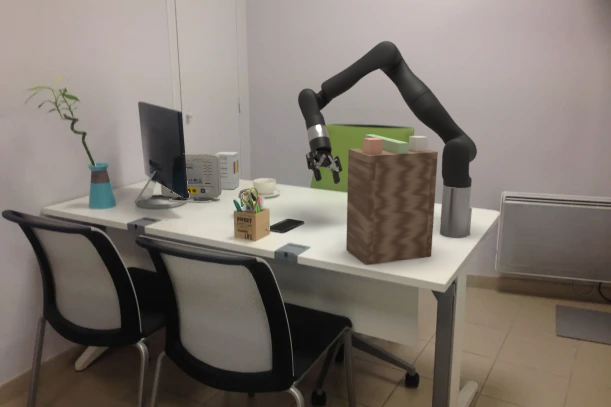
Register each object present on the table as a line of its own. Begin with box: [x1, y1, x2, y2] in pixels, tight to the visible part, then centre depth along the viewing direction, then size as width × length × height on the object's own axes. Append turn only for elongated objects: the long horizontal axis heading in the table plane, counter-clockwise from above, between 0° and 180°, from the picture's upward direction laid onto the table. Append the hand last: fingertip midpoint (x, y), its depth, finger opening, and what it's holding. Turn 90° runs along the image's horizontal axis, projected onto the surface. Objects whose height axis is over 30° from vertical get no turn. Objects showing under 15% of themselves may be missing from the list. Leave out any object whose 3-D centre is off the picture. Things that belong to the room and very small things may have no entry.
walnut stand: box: [345, 147, 439, 266], centre depth 161 cm, size 22×14×32 cm, turn 110°
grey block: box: [408, 135, 429, 151], centre depth 157 cm, size 4×4×4 cm
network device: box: [160, 153, 222, 204], centre depth 229 cm, size 26×9×20 cm, turn 84°
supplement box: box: [216, 151, 240, 190], centre depth 254 cm, size 10×9×17 cm
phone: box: [269, 218, 305, 234], centre depth 192 cm, size 8×1×15 cm
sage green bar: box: [364, 133, 409, 154], centre depth 161 cm, size 3×22×3 cm, turn 20°
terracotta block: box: [362, 137, 383, 154], centre depth 152 cm, size 4×4×4 cm
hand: (328, 181), depth 185 cm, fingers open, 8 cm apart
